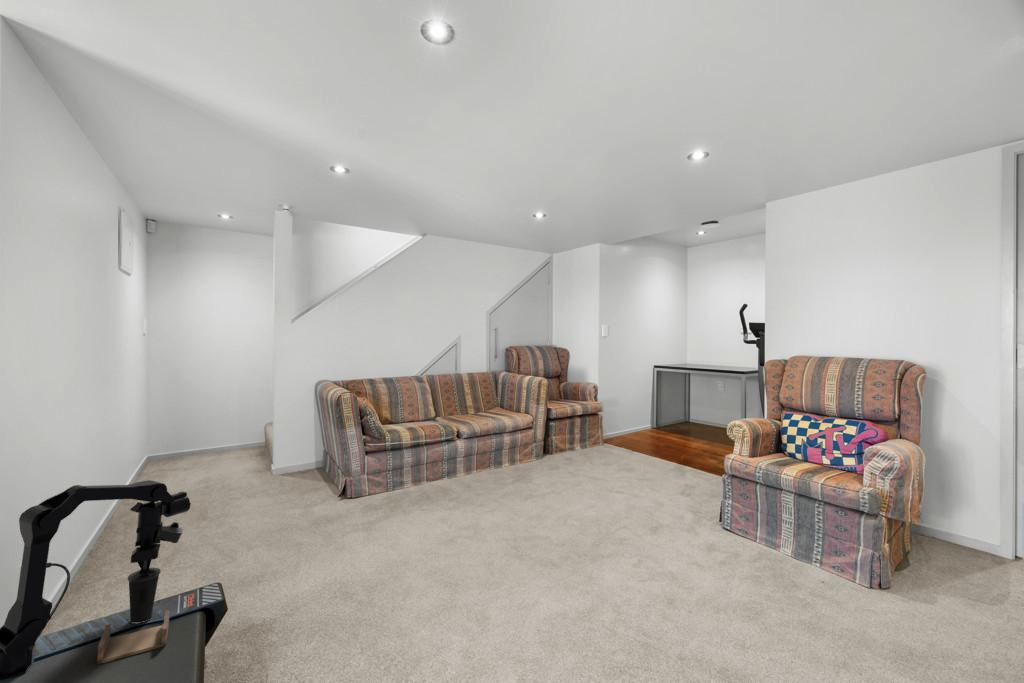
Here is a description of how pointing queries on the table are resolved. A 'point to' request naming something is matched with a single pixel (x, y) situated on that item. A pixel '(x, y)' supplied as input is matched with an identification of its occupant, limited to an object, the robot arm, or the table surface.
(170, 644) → the table surface
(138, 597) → the drinking cup
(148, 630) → the cup rest
